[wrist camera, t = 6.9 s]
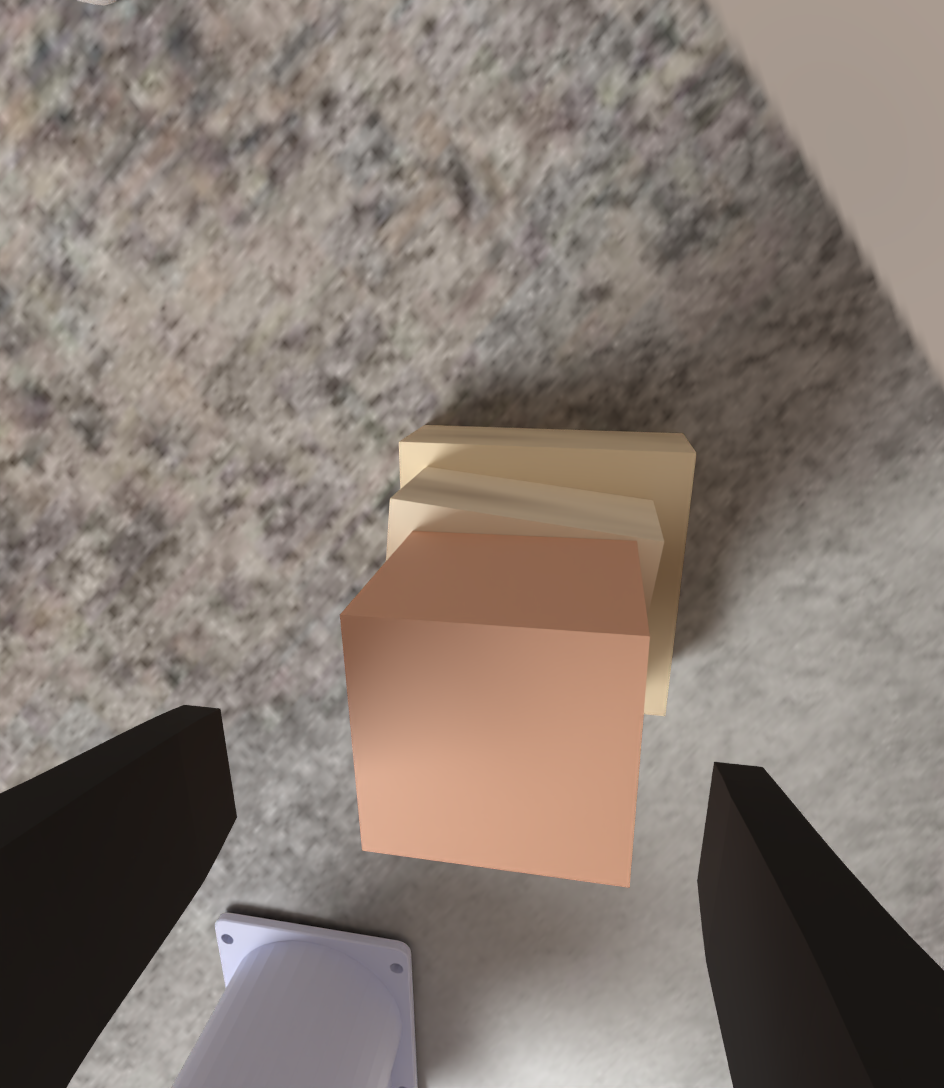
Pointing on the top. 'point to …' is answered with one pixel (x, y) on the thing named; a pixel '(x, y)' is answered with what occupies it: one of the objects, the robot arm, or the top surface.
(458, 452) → the tower base
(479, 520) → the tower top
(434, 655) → the terracotta block
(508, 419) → the top surface
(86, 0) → the eye dropper bottle
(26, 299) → the top surface
